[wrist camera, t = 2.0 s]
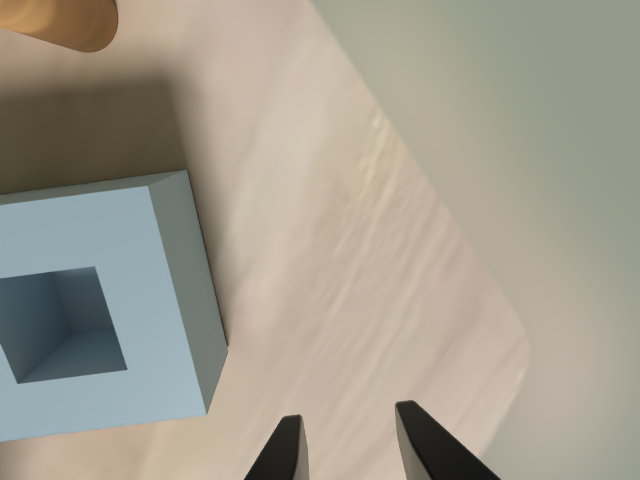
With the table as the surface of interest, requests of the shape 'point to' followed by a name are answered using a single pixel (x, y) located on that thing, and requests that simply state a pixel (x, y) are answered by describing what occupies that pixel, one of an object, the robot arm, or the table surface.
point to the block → (105, 307)
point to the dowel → (63, 21)
